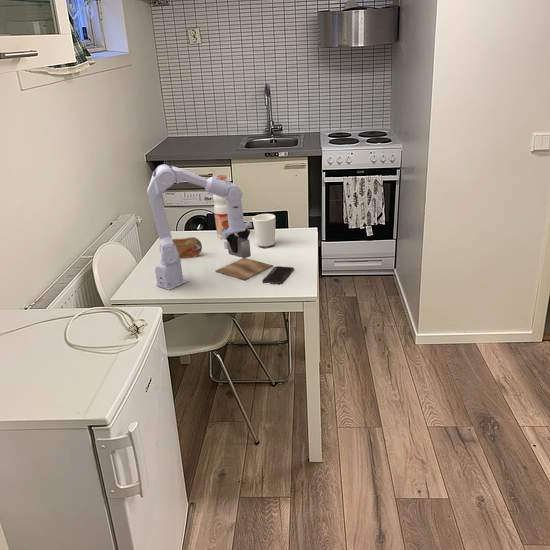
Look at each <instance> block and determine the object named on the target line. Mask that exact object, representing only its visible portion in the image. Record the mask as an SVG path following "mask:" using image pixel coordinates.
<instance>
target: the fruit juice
mask: <svg viewBox="0 0 550 550" xmlns="http://www.w3.org/2000/svg"><path fill="white" fill-rule="evenodd" d="M215 176H216V177H218V178H219V180H222V181H225V182H227V175H223V174H220V175H215ZM212 199H213V200H212V201H214V202H213V203H214V205H213V213H214V220H215V229H216V235H217V238H218V239H219V238H220V240H226V238H222V237H221V233H222V232H224V231H225V230H226V229H228V228H229V223H228V214H227V202H226V197H220V196H217V195H214V194H212ZM234 235H235V236H238V234H237V233H235V234H234Z"/></svg>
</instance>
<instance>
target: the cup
mask: <svg viewBox="0 0 550 550" xmlns="http://www.w3.org/2000/svg"><path fill="white" fill-rule="evenodd" d="M276 219H277V218H276V215H275V214H273V213H261V214H257V215H254V216H252V223H253V224H252V226H253V230H254V235H255V239H256V244H257V246H258V247H259V248H266V249H268V248H269V247H274V245H275V243H276Z"/></svg>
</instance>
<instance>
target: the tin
mask: <svg viewBox="0 0 550 550" xmlns="http://www.w3.org/2000/svg"><path fill="white" fill-rule="evenodd" d="M172 240H173V242H174V243H175V245H176V248H177V251H178V253H179V258H180V260H181V259H190V258H196V257H198V256H200V254H201V253H202V250H203V249H202V248H203V245H202V242H201V241H200V240H199V239H198V238H197V237H193V236H191V237H183V238H182V237H180V238H172Z"/></svg>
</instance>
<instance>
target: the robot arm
mask: <svg viewBox="0 0 550 550" xmlns="http://www.w3.org/2000/svg"><path fill="white" fill-rule="evenodd" d="M151 175H152V176H151V179H150V181H149V185H148V187H147V189H146V190H147V191H146V192H147V196H148V200H149V201H148V202H149V206H150V208H151V212H152V214H153V219H154V223H155V226H156V227H155V228H156V231H157V235H158V238H159V242H160V245H159V252H160V256H161V260H160V264H159V265H158V264H157V266H156V267H155V269H154V273H155V279H156V286H157V287H159V288H162V289H164V290H169V291H171V290H172V289H175V288H177V287H179V286H180V285H183V284H186V283H188V282H189V280H188V279H186V278H184V277H183V275H184V274H183V269H182V262H181V259H180V258H179V253H178V251H177V248H176V245H175V243H174V242H173V240H172V239H173V237H172V233H171V230H170V229H171V228H170V225H169V221H168V217H167V212H166V209H165V205H164V201H163V198H162V195H163V194H164V193H165V192H166V191H167V189H169V188H170V187H172V186H173V185H174V184H175V183H176V184H180V183H183V182H186V183H189V184H192V185H195V186H198V187H201V188H204V189H205V191H206V193H209V194H212V195H213V194H214V195H217V196H220V197H226V202H227V214H228V223H229V228H228V229H226V230H225V231H224V232H222V233H221V237H222V238H226V239H225V241H226V240H227V241H228V243H229V245H230V247H231V249H232V252H234V253H237V250H238V249H237V241H238V237H239V238H243V239H248V238H249V236H250V234H251V230H250V229H251V228H253V224H252V223H253V222H250V221H247V222H245V221H244V220H245V219H244V211H243V203H242V198H243V192H242V190H241V188H240V187H239V186H238V185H236V184H235V183H233V182H230V181H229V180H228V181H226V182H225V181H222V180H219V178H218V177H216V176H217V175H215V176H211V177H208V178H205V177H204V176H201V175H199V174H196V173H193V172H190V171H188V170H185V169H183V168H180V167H176V166H170V165H169V164H160V165H158V166H157V167H156V168H155V170H153V171H152V174H151ZM235 233H237V236H235V235H234V234H235ZM248 240H249V239H248Z"/></svg>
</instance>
